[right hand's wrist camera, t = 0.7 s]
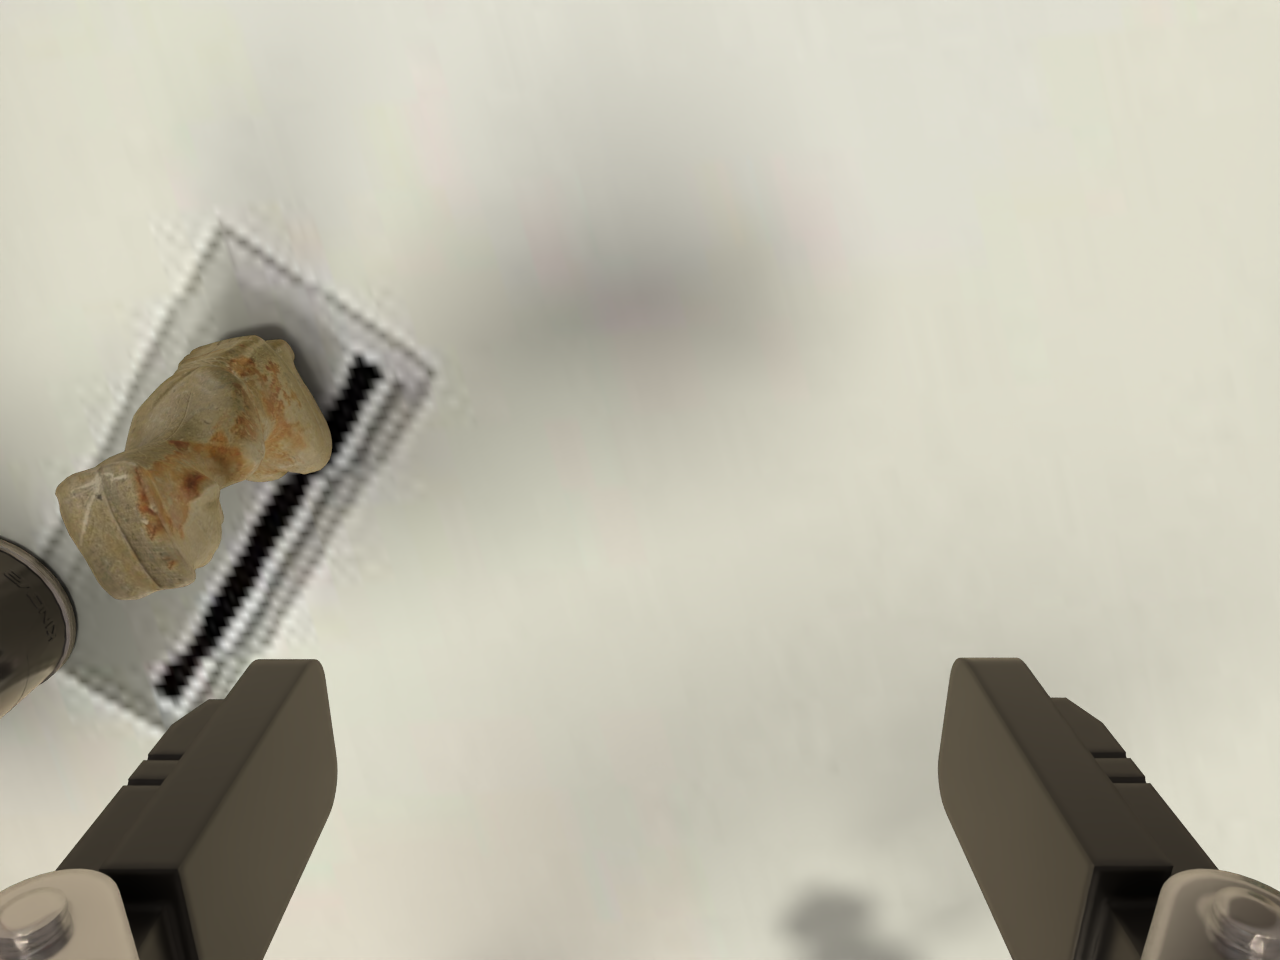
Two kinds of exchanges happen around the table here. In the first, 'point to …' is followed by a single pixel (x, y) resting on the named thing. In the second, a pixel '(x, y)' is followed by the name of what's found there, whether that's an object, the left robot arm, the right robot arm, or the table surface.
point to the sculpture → (192, 464)
